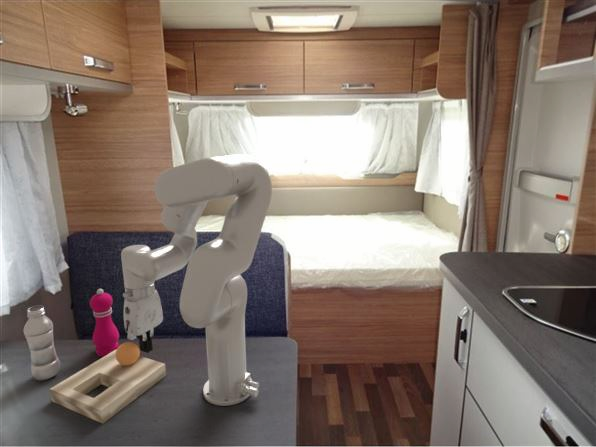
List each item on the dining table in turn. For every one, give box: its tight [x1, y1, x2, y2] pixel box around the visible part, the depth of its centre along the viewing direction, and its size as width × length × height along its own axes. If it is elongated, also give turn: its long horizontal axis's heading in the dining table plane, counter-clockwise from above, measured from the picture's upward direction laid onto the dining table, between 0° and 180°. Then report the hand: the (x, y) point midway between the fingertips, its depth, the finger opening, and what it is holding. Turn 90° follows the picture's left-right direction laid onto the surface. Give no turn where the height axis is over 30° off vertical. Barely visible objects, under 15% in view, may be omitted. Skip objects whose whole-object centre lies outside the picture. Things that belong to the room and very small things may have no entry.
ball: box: [116, 341, 141, 365], centre depth 106 cm, size 6×6×6 cm
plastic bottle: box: [23, 304, 61, 381], centre depth 105 cm, size 6×7×20 cm
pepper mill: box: [89, 288, 120, 357], centre depth 118 cm, size 7×7×20 cm
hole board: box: [49, 349, 167, 424], centre depth 102 cm, size 18×20×4 cm
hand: (146, 350), depth 113 cm, fingers closed
